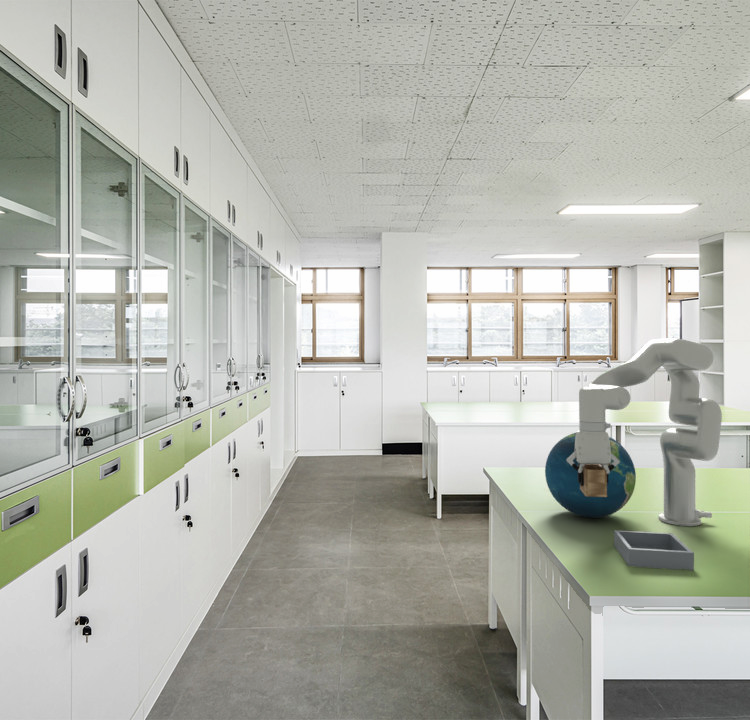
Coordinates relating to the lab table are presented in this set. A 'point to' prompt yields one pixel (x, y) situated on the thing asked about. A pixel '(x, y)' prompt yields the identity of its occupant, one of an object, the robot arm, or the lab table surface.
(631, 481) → the globe
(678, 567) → the shallow gray tray
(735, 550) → the lab table surface
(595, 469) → the small crate
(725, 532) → the lab table surface
